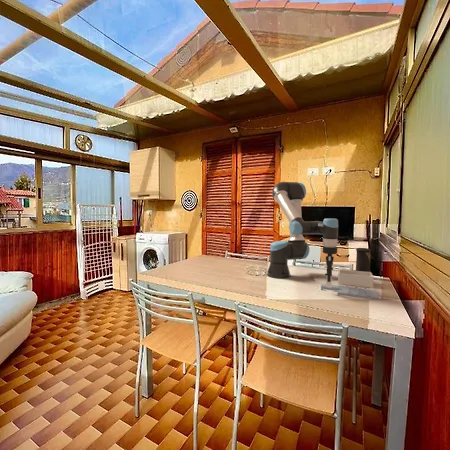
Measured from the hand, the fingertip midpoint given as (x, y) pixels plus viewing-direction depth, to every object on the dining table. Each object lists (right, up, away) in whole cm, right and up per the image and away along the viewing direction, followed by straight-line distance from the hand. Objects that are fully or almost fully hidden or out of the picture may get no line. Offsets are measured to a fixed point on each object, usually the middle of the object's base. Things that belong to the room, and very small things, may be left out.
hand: (328, 284), depth 138 cm
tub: (+20, -3, +11) cm, 23 cm away
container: (+33, -2, +26) cm, 42 cm away
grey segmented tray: (+9, -4, -4) cm, 10 cm away
